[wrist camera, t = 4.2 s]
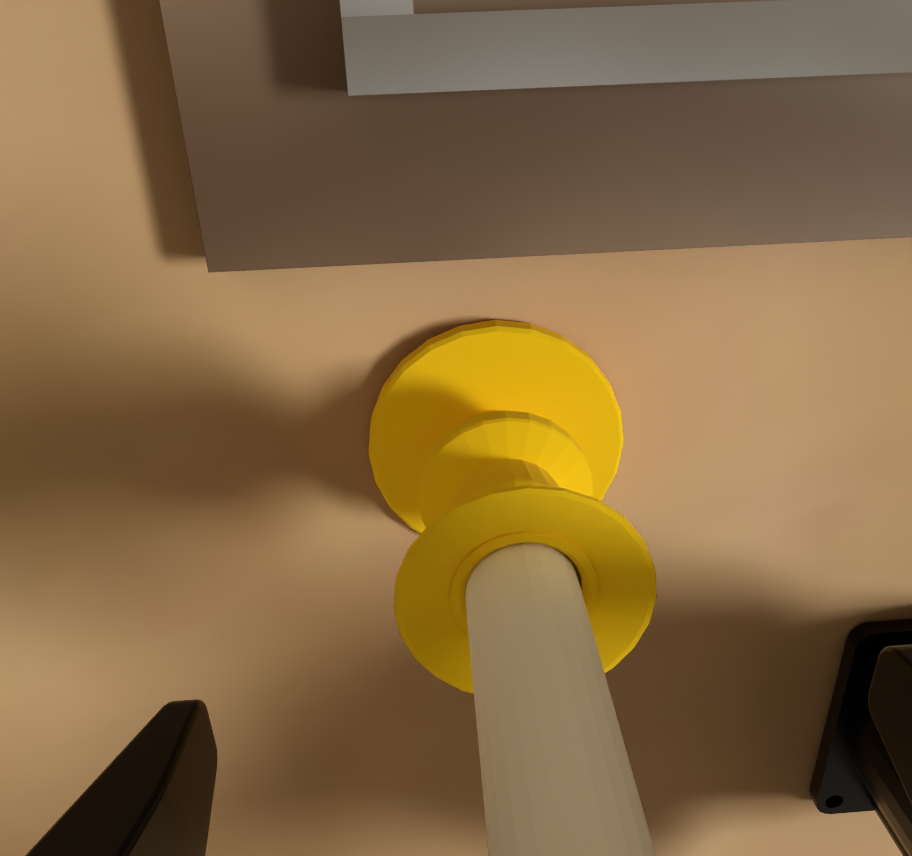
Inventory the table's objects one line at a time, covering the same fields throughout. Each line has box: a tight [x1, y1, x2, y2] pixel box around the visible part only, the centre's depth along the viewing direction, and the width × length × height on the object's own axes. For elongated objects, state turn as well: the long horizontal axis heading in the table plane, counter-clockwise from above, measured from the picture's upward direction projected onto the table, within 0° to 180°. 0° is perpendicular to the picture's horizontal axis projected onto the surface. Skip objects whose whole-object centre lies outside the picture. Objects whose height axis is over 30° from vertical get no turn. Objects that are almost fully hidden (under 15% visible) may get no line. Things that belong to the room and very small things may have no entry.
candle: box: [369, 320, 657, 856], centre depth 9 cm, size 5×5×16 cm
